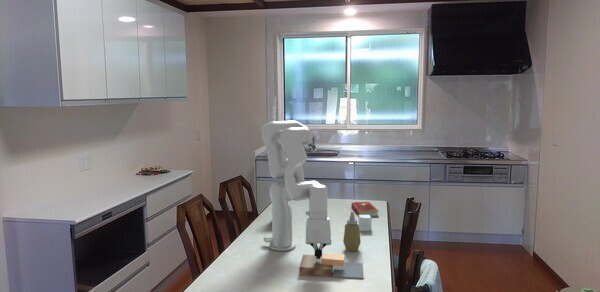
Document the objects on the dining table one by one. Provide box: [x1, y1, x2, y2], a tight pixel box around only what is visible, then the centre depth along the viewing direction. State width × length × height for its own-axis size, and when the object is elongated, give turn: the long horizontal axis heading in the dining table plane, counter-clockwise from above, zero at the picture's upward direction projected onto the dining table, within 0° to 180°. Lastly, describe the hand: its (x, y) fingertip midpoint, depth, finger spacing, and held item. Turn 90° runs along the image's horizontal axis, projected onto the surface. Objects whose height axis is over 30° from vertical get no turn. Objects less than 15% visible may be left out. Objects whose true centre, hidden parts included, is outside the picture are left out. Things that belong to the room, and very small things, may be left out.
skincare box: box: [358, 215, 373, 232], centre depth 221 cm, size 6×6×7 cm
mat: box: [332, 261, 365, 280], centre depth 169 cm, size 12×14×1 cm
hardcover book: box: [351, 201, 379, 218], centre depth 254 cm, size 12×21×4 cm, turn 5°
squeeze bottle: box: [343, 211, 362, 252], centre depth 191 cm, size 8×8×18 cm
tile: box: [321, 252, 345, 266], centre depth 169 cm, size 9×6×2 cm, turn 81°
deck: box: [298, 254, 334, 278], centre depth 170 cm, size 13×13×4 cm
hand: (318, 257), depth 170 cm, fingers closed
